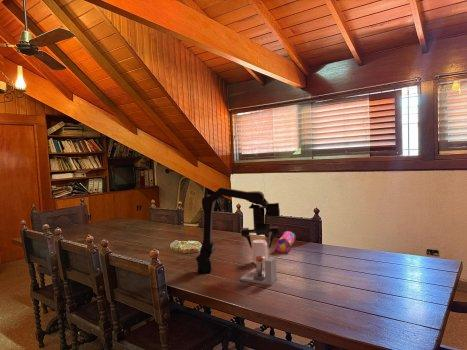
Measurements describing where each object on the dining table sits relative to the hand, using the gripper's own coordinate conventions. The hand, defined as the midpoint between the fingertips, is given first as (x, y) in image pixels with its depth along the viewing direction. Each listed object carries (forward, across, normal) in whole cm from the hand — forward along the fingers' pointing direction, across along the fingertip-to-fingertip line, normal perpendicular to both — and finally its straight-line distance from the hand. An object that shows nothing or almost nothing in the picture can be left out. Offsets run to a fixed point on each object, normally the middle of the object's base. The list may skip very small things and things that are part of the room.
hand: (260, 248), depth 165 cm
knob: (+11, 0, 0) cm, 11 cm away
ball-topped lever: (+11, -2, -10) cm, 15 cm away
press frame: (+13, 0, -5) cm, 14 cm away
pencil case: (+13, +20, +40) cm, 47 cm away
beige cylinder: (+13, +1, +16) cm, 20 cm away
